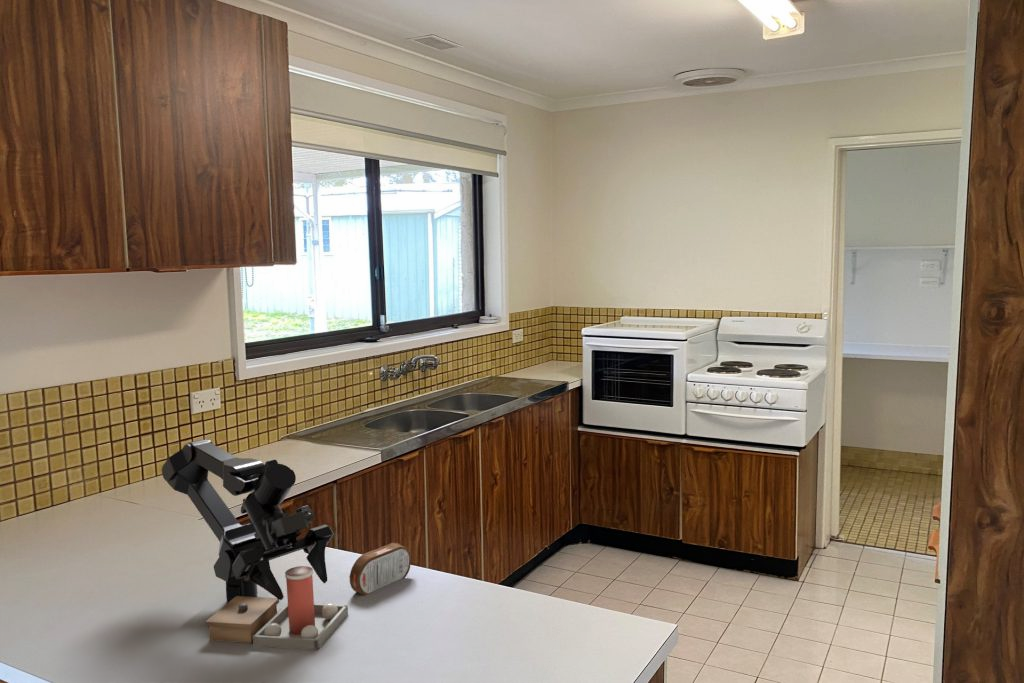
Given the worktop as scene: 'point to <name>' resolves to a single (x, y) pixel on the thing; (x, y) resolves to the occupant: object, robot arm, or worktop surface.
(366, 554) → the tin
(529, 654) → the worktop surface
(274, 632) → the shiny white sphere
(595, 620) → the worktop surface
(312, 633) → the white glossy ball
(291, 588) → the scoop cup
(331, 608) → the pebble
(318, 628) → the tray
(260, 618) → the lidded box
